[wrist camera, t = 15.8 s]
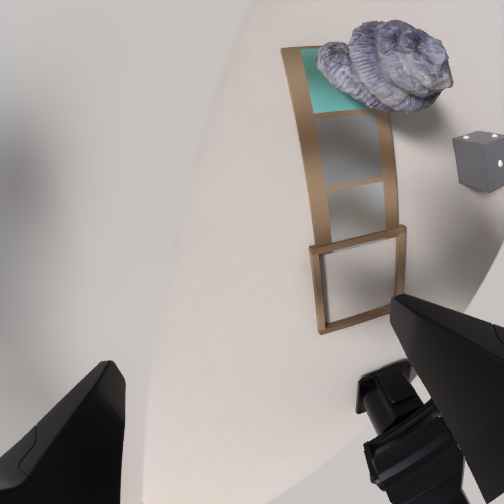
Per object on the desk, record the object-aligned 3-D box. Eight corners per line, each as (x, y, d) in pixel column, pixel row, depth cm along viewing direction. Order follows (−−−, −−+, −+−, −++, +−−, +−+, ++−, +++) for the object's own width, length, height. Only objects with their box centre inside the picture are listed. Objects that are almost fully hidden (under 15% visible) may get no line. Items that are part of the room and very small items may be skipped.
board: (396, 234, 22) (398, 236, 21) (316, 254, 21) (317, 256, 21) (373, 47, 16) (374, 46, 16) (280, 49, 16) (281, 48, 15)
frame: (397, 305, 25) (401, 309, 24) (318, 331, 24) (320, 335, 24) (401, 224, 21) (405, 226, 21) (308, 246, 21) (311, 249, 21)
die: (484, 171, 20) (515, 180, 17) (458, 182, 21) (491, 193, 17) (478, 128, 19) (510, 133, 15) (451, 136, 19) (485, 141, 15)
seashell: (372, 47, 16) (469, 12, 6) (381, 117, 18) (488, 121, 8) (301, 42, 15) (373, -22, 6) (311, 117, 17) (398, 108, 8)
